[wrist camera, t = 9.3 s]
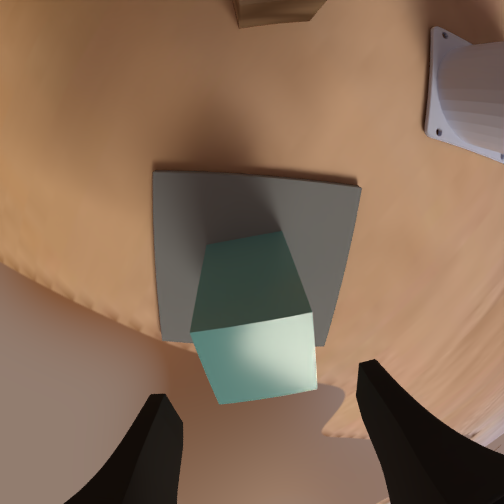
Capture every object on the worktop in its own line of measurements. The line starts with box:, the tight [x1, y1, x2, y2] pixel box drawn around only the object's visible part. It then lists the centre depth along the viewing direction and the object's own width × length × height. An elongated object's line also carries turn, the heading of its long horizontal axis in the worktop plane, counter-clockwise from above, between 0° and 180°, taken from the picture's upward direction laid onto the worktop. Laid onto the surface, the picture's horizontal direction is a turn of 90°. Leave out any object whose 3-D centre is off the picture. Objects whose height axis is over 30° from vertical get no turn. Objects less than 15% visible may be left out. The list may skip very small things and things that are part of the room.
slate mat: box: [153, 170, 362, 347], centre depth 19 cm, size 12×12×1 cm
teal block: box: [190, 231, 317, 404], centre depth 15 cm, size 4×4×8 cm
